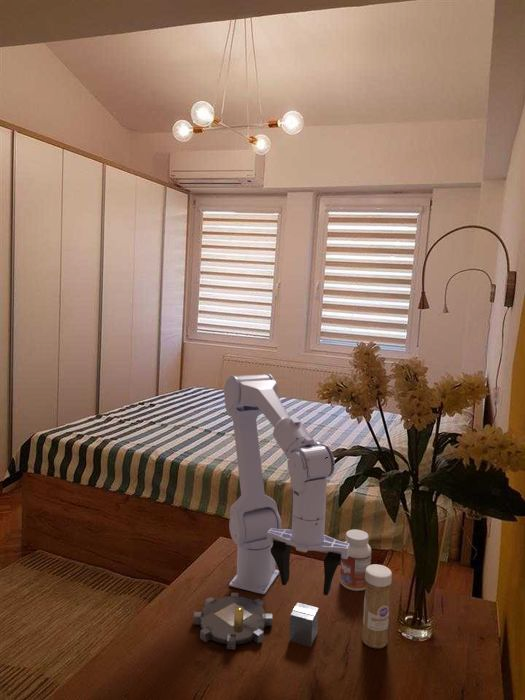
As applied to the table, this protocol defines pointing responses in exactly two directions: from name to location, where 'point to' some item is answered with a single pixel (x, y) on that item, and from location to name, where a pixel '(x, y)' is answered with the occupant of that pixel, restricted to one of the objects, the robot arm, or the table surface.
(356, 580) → the pill bottle
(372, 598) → the sprinkles bottle
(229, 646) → the sprocket
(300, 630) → the grooved silver cube
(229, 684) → the table surface
